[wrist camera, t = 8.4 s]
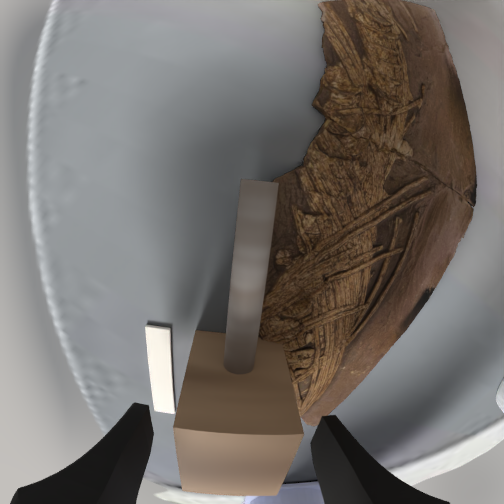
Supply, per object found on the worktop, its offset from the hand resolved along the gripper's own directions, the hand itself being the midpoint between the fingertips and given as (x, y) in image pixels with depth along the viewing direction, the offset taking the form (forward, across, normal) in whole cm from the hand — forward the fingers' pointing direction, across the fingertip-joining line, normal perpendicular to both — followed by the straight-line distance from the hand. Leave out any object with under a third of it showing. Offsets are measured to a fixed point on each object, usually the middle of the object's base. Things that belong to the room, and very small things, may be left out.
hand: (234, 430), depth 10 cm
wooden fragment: (+4, -6, -9) cm, 11 cm away
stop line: (+4, +4, 0) cm, 5 cm away
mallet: (+4, 0, -4) cm, 5 cm away
